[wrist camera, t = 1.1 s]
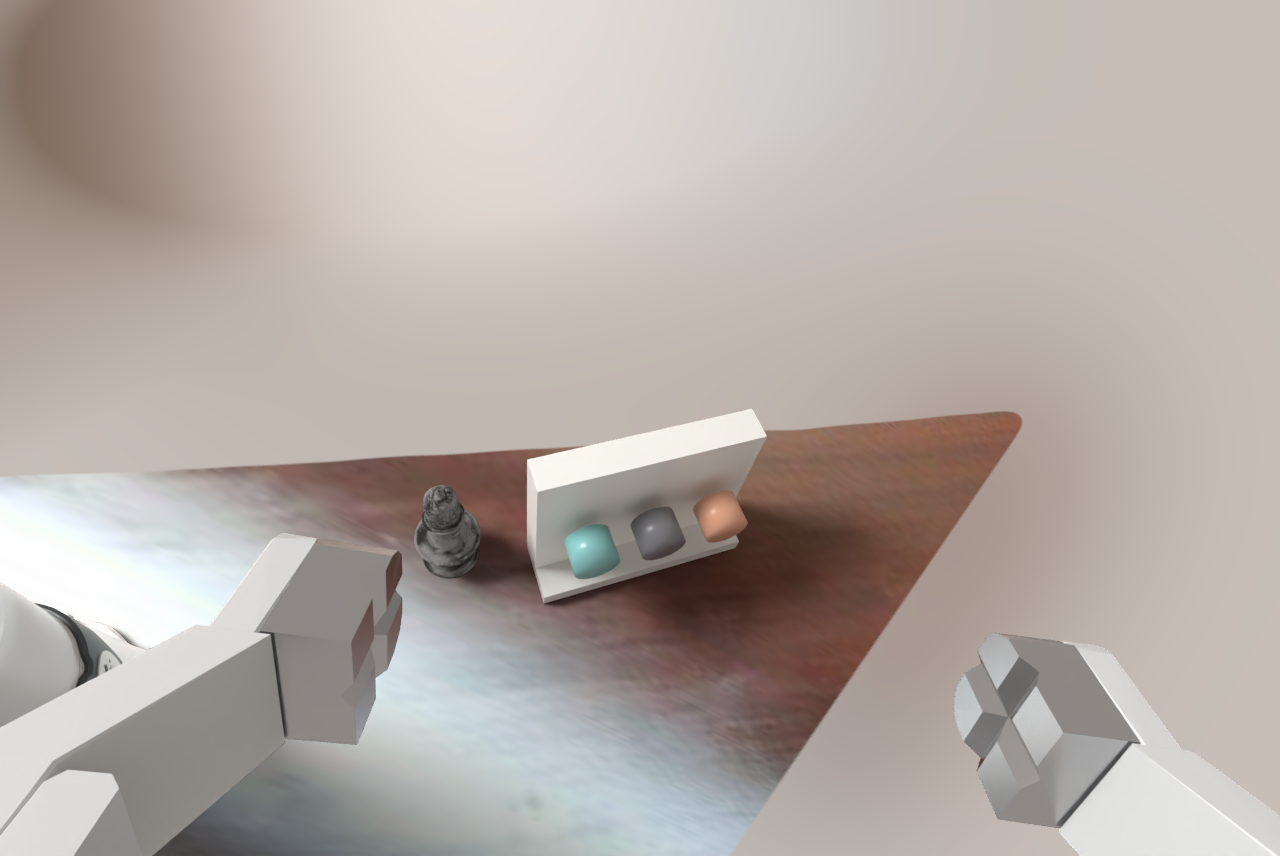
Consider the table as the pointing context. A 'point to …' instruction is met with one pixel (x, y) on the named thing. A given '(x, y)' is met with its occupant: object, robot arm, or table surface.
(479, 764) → the table surface
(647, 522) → the charcoal button
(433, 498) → the grey stone chess piece
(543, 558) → the console
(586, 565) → the teal button
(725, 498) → the terracotta button
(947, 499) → the table surface
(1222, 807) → the robot arm
